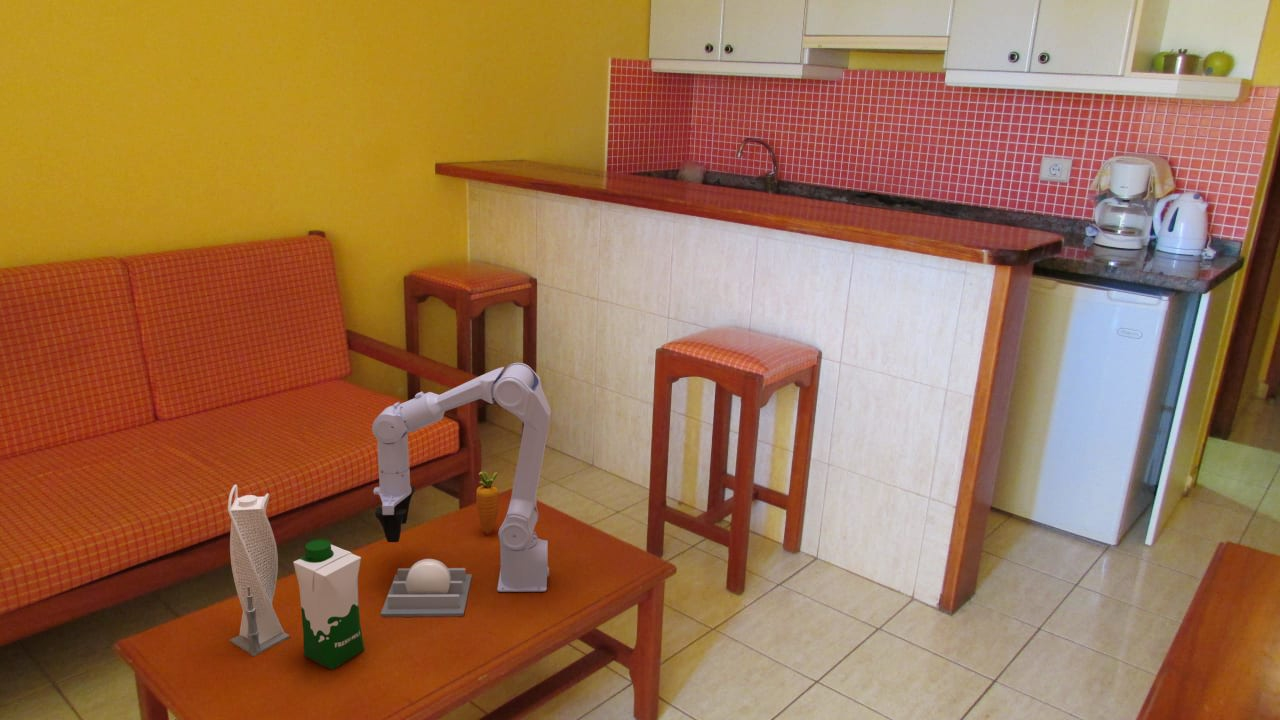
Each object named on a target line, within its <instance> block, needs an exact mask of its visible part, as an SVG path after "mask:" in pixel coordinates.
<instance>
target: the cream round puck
mask: <svg viewBox="0 0 1280 720" xmlns="http://www.w3.org/2000/svg"><path fill="white" fill-rule="evenodd" d="M448 568H449V567H447V565H446V564H444V563H443V562H442V561H440V560H438V559H433V558H424V559H420V560H418V561H416V562H414V564H412V566H411V567H410V570H409V573H408V576H407V579H406V589H407V592H408V594H409V595H421V594H447V592H448V590H449V586H450V582H451V574H450V571H449V569H448Z"/></svg>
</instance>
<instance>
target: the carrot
mask: <svg viewBox="0 0 1280 720" xmlns="http://www.w3.org/2000/svg"><path fill="white" fill-rule="evenodd" d="M498 474H499V473H498V472H494V473H493V474H492V476H491V478H490V476H489V474H488V473H487V471H486V472H485V471H480V472H479V473H478V476H479V478H480V481H479V484H480V486H478V487H477V489H476V494H475V495H476V509H477V514H478V518H479V522H480V524H481V527H482V529H483V531H484V533H485V534H486V535H490V534H491V533H492V531H493V529H494V528H495V526H496V523H497V518H498V515H499V504H500V503H499V501H500V500H499V499H500V498H499V497H500V492H499V490H498V487H497V486H496V485H494V481H495V480H496V478H497V476H498Z"/></svg>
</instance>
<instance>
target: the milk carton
mask: <svg viewBox="0 0 1280 720" xmlns="http://www.w3.org/2000/svg"><path fill="white" fill-rule="evenodd" d="M361 561H362V557H361V556H359V555H356V554H354V553H352V552H351V551H349V550H345V549H343V548H340V547H339V546H336V545H333V544H332V542H331V541H330V540H328V539H323V538H319V539H318V538H317V539H314V540H311V541H309V542H307V543H306V544H305V555H304V556H302V557H300V558H298V559H296V560H294V561H293V562H292V563H293V567H294V571H295V575H296V578H297V582H298V588H299V596H300V597H299V598H300V599H299V601H300V609H301V621H302V634H303V636H302V637H303V656H304V657H306V658H308V659H310V660H312V661H314V662H316V663H318V664H320V665H321V666H323V667H325V668H327V669H329V670H331V671H333V670H334V669H336V668H337V667H339V666H340V665H342V664H345V662H347V661H349V660H350V659H352V658H353V657H355V656H356V655H358V654H359V653H361V652H363V651H364V650H365V645H364V640H363V633H362V625H361V619H360V618H361V616H360V601H359V600H360V599H359V584H358V578H359V572H360V568H361V566H360V565H361Z"/></svg>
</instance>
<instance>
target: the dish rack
mask: <svg viewBox="0 0 1280 720" xmlns="http://www.w3.org/2000/svg"><path fill="white" fill-rule="evenodd" d="M410 568H411V567H410ZM410 568H405V567H403V568H402V567H401V568H399V567H398V568H397V574H395V575H394V578H393V580H392V583H391V585H390V588H389V591H388V594H387V596H386V598H385V601H384V604H383V606H382V609H381V612H380V617H381V618H386V617H387V618H388V617H389V618H390V617H391V618H392V617H396V618H397V617H398V618H399V617H401V618H402V617H404V618H406V617H409V618H410V617H411V618H412V617H415V618H416V617H464V615H465V610H466V605H467V601H468V596H469V592H470V587H471V585H472V584H471V582H472V579H473V575H472V573H471V574H470V573H468V574H467V573H466V568H465V567H447V568H448V569H449V571H450V574H451V582H450V586H449V590H448V592H447V594H421V595H409V594H408V592H407V589H406V579H407V576H408V573H409V570H410Z"/></svg>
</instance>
